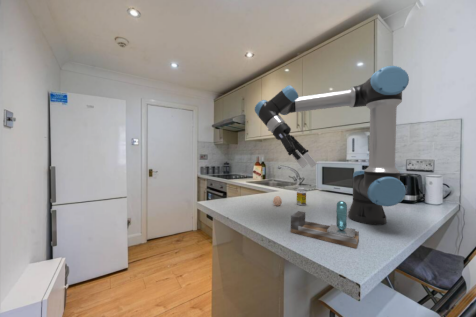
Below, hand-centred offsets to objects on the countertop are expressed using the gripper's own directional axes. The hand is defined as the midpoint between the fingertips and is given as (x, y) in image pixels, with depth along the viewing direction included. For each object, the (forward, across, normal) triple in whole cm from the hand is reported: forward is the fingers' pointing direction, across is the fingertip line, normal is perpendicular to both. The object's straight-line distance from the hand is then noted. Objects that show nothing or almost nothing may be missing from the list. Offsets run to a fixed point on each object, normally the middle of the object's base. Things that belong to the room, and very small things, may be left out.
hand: (310, 165), depth 78 cm
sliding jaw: (+26, +3, -7) cm, 27 cm away
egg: (+2, -29, -36) cm, 47 cm away
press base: (+24, +2, -13) cm, 27 cm away
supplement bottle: (+9, -41, -28) cm, 50 cm away
